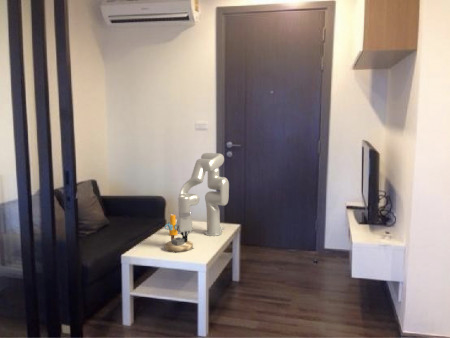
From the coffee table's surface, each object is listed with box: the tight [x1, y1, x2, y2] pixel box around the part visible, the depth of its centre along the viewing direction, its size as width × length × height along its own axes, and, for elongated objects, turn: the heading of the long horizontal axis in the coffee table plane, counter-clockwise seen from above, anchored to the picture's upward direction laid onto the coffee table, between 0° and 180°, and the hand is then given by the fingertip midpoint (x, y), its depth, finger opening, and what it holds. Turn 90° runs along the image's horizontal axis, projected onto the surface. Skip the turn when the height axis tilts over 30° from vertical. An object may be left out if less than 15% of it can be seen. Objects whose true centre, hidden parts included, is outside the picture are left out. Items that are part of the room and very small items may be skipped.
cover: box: [172, 236, 185, 246], centre depth 282 cm, size 6×6×4 cm
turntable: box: [164, 235, 194, 253], centre depth 282 cm, size 18×18×6 cm
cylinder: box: [164, 213, 178, 237], centre depth 314 cm, size 12×10×15 cm
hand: (185, 241), depth 285 cm, fingers closed
